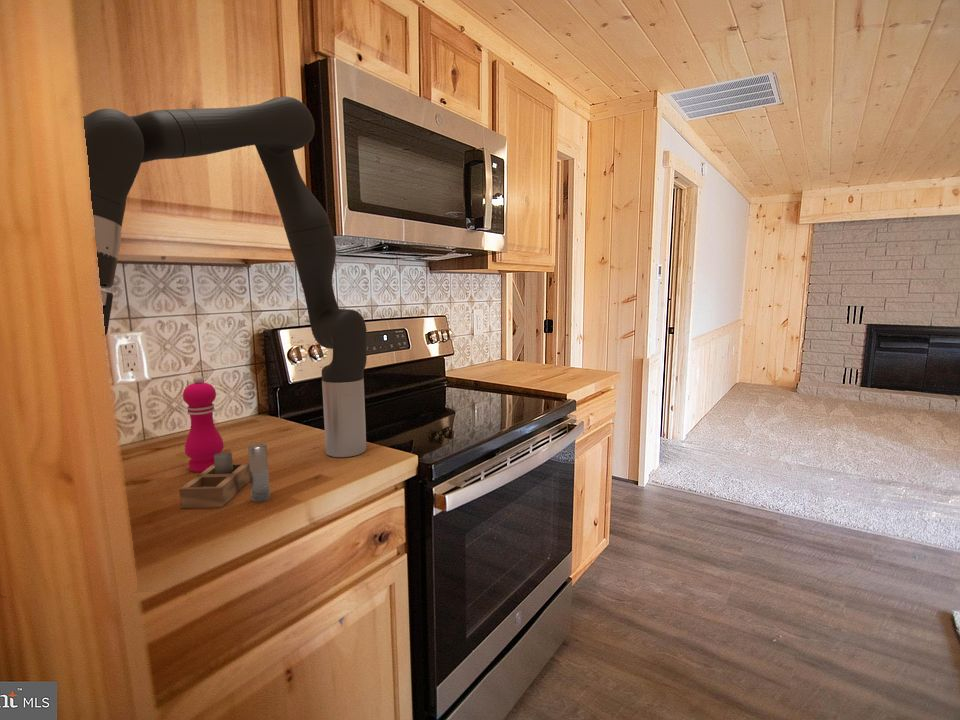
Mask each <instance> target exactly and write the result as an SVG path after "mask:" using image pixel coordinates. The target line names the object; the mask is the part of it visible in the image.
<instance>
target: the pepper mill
mask: <svg viewBox="0 0 960 720" xmlns="http://www.w3.org/2000/svg"><path fill="white" fill-rule="evenodd" d="M193 382H194V383H191V384H188V385H187V386H186V387H185V389H183V392H182V399H183V401H184V403H186V404H187V405H188V406H187V407H186V409H187V411H186V412H187V414H188V415H189V417H190V429H189V433H188V435H187V437H186V440H185V444H184V453H185V455H186V456H187V457H188V458H190V460H188V469H189V471H190V472H193V473H194V472H195V473H202V472H203V471H205V470H206V469H207V468H209V467H210V466H211V465H213V464H215V462H214V455H215V454H217V453H221V452H223V450H224V448H225V446H224V445H225V444H224V441H223V437H222V436H221V434H220V433H219V431H218V429H217V428H216V425H215V422H214V418H213V416H214V413H213V412H215V404H214V403H213V402H214V400H215V399H216V397H217V393H216V389H215V387H214V386H213V385H212V384H210V383H207V382H204V377H203V376H202V375H198V374H197V375H195V376H193Z"/></svg>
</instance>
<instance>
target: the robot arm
mask: <svg viewBox="0 0 960 720" xmlns="http://www.w3.org/2000/svg"><path fill="white" fill-rule="evenodd" d="M82 117H83V118H84V129H85V138H86V146H87V155H88V165H89V177H90V190H91V201H92V209H93V217H94V227H95V238H96V247H97V257H98V267H99V278H100V286H101V288H100V289H111V288H112V287H114V281H115V276H116V272H117V265H118V260H119V257H120V256H119V255H120V249H121V246H122V245H121V244H122V227H123V223H124V222H123V221H124V217H125V216H124V215H125V211H126V204H127V199H128V195H129V194H130V191H131V188H132V187H133V185H134V182H135V180H136V178H137V176H138V173H139V170H140V168H141V165H142V163H147V162H152V161H157V160H158V161H159V160H174V159H175V160H176V159H183V158H192V157H199V156H206V155H211V154H212V155H213V154H218V153H221V152H226V151H231V150H235V149H239V148H245V147H250V146H255V149H256V151H257V153H258V156H259V158H260V161H261V163H262V165H263V168H264V170H265V173H266V176H267V178H268V181H269V183H270V186H271V188H272V192H273V195H274V199H275V202H276V204H277V207H278V210H279V213H280V217H281V221H282V224H283V227H284V232H285V234H286V238H287V241H288V244H289V247H290V251H291V254H292V256H293V259H294V263H295V266H296V270H297V275H298V277H299V280H300V283H301V287H302V291H303V295H304V299H305V304H306V309H307V310H306V311H307V315H308V320H309V323H310V324H309V325H310V330H311V333H312V335H313V338H314V339H315V341H316V342H317V344H318V345H319V346H321V347H323V348H325V349H331V350H332V360H331V362H330V363H329V364H327V365H325V366H324V367H322V369H321V388H322V389H321V391H322V403H323V406H322V407H323V422H324V442H325V443H324V445H325V454H326V455H327V456H330V457H333V458H347V457H348V458H350V457H355V456H357V455H358V456H359V455H361V454H363V453H365V452H366V451H367V435H366V434H367V427H366V424H367V423H366V409H365V408H366V407H365V406H366V402H365V382H364V381H365V379H364V373H365V372H364V371H365V369H366V366H367V359H368V358H367V355H368V354H367V350H368V349H367V348H368V347H367V346H368V345H367V344H368V337H367V336H368V335H367V333H368V332H367V330H368V329H367V325H366V321H365V319H364V317H363V315H362V314H361V313H360V312H359V311H357V310H354V309H350V308H349V309H347V308H339V305H338V303H337V300H336V296H335V292H334V287H333V275H334V270H335V265H336V264H335V263H336V258H337V244H336V240H335V237H334V232H333V228H332V225H331V221H330V218H329V216H328V214H327V212H326V210H325V209H324V207H323V206H322V204H321V203H320V202H319V200H318V199H317V198H316V196H315V195H314V194H313V192H312V191H311V190H310V189H309V188H308V186H307V184H306V183H305V182H304V179H303V177H302V176H301V173H300V170H299V167H298V164H297V161H296V158H295V154H294V153H295V152H294V151H296V150H301V149H302V148H304V147H305V146H307V145H308V144H310V143H311V141H312V140H313V138H314V136H315V131H316V128H315V127H316V126H315V119H314V118H313V115H312V113H311V111H310V109H309V108H308V107H307V106H306V105H305V104H304V103H303V102H302V101H300V100H299V99H297V98H295V97H291V96H278V97H274V98H272V99H269V100H266V101H263V102H261V103H257V104H251V105H246V106H245V105H244V106H235V107H217V108H215V107H213V108H178V109H156V110H151V111H147V112H143V113H141V114H137V115H127V113H125V112H123V111H120V110H118V109H113V108H101V109H100V108H99V109H96V110H94V111H92V112H90V113H87V114H86V115H84V116H82ZM101 295H102V302H103V314H104V326H105V336H106V335H107V334H108V330H109V326H110V318H111V311H112V305H113V299H114V294H113V293H112V292H109V291H104V290H101Z"/></svg>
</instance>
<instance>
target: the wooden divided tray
mask: <svg viewBox="0 0 960 720" xmlns="http://www.w3.org/2000/svg"><path fill="white" fill-rule="evenodd" d="M214 462H215V464H213V465H211V466H210V467H209V468H207V469H206V470H205V471H203V472H200V473H199V474H197V476H196V477H194V478H193V479H191V480H190V481H189V482H187V483H186V484H185V485H183V486H182V487H180V488H179V489H178V490H179V501H180V509H202V508H203V509H204V508H205V509H206V508H209V509H211V508H223V507H224V506H225V505H227V504H228V502H229V501H230V500H231V499H232V498H234V497H235V496H236V495H237V494H238V492H240V491H241V490H242V489H243V488H244V487H246V485H247V484H248V483H249V482H251V479H250V467H249V462H248V463H244V462H243V463H233V453H232V452H231V451H221V453H217V454H215V455H214Z"/></svg>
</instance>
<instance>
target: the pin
mask: <svg viewBox="0 0 960 720" xmlns="http://www.w3.org/2000/svg"><path fill="white" fill-rule="evenodd" d="M247 453H248V463H249V467H250V479H251V480H250V489H251V490H250V492H251V500H252V502H253V503H264V502H267V501H269V500H270V499H271V492H270V491H271V490H270V477H269V476H270V475H269V463H268V462H269V461H268V449H267V444H266V443H254V444H250V445H249V446H248V447H247Z"/></svg>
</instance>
